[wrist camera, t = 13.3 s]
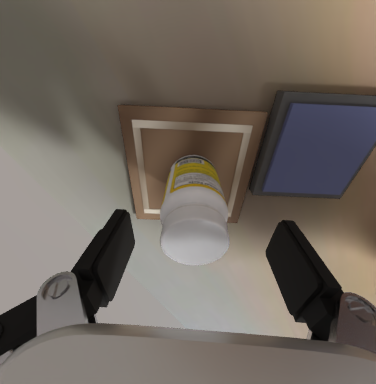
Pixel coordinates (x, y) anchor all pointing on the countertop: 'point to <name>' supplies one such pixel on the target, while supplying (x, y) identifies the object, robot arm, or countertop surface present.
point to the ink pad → (314, 144)
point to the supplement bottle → (194, 213)
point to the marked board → (188, 150)
